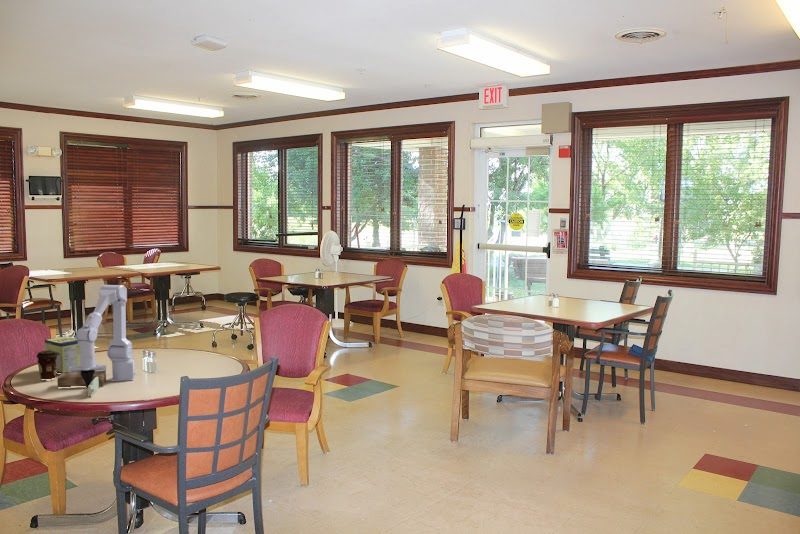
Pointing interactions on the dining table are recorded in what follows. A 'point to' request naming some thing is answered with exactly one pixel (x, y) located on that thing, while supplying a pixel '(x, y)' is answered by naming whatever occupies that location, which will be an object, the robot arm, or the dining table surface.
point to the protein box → (64, 352)
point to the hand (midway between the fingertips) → (88, 387)
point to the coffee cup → (47, 364)
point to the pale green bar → (93, 386)
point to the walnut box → (79, 379)
